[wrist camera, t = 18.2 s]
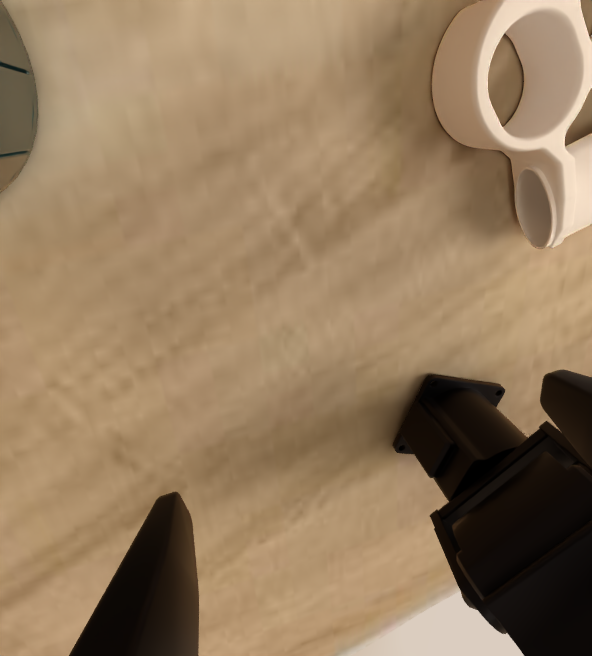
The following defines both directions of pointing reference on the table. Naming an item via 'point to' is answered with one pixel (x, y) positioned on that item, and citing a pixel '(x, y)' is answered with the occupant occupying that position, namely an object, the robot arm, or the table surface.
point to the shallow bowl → (15, 102)
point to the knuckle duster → (525, 106)
